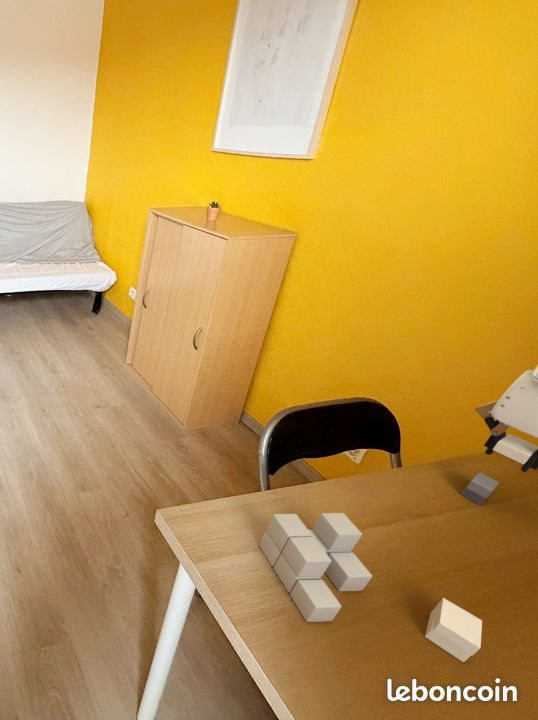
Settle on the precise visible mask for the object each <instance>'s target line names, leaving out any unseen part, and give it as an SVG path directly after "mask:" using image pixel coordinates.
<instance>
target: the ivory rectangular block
mask: <svg viewBox="0 0 538 720" xmlns="http://www.w3.org/2000/svg"><path fill="white" fill-rule="evenodd" d="M482 631H483V620H482V619H480V618H478V617H477V616H475V615H473V614H472V613H470V612H468V611H467V610H465V609H464V608H461V607H460V606H458V605H456V604H455V603H453V602H451V601H450V600H448V599H446V598H445V597H442V599H441V600H440V601H439V602H438V603H437V604H436V605H435V607H434V608H433V609H432V610H431V612H430V613H429V617H428V621H427V625H426V630H425V634H424V638H426V639H428V640H429V641H430V642H432V644H433V643H434V645H437V647H439V648H441V649H442V650H444V651H445V652H447V653H448V654H450V656H453V657H454V658H456V659H458V660H459V661H461V662H462V663H465V662H466V661H467V660H468V659H469V658H470V657H471V656H474V655H475V654H476V653H477V652H478V651H479V650H480V649H481V647H482V633H483V632H482Z"/></svg>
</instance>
